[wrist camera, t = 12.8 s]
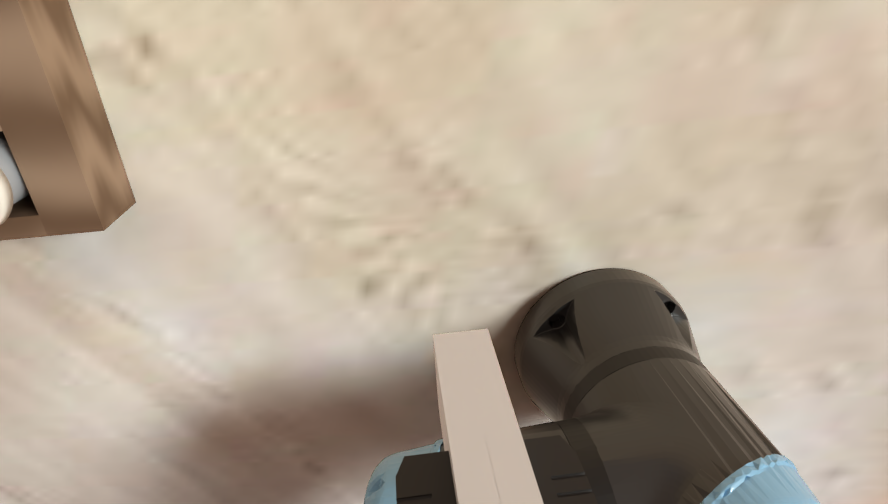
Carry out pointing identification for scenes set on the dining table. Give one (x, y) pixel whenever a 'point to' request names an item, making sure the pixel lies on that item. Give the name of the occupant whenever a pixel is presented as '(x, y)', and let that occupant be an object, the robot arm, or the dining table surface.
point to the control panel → (56, 126)
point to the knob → (9, 180)
